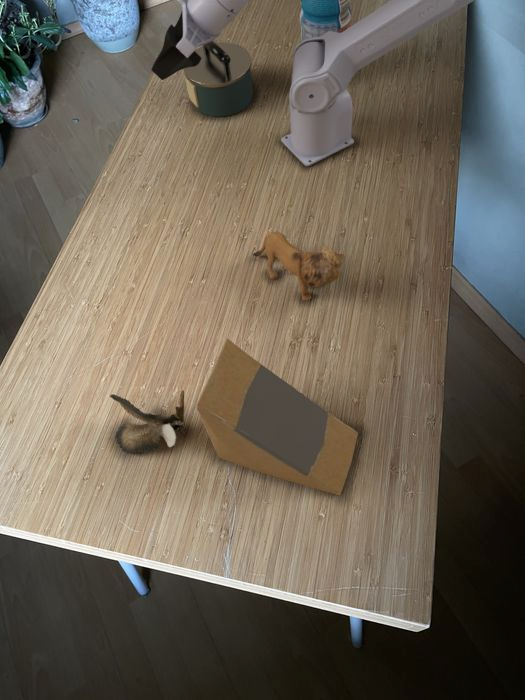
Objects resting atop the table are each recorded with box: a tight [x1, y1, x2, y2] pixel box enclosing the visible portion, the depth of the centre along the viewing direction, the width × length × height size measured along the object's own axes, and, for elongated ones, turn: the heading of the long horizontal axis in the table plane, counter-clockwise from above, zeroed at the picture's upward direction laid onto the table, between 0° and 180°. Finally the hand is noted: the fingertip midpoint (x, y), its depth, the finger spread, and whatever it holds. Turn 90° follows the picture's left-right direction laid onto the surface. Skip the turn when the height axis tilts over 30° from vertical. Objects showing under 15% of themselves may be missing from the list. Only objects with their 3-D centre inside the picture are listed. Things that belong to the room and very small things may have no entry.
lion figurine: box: [251, 231, 345, 302], centre depth 80 cm, size 15×5×9 cm, turn 54°
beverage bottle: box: [299, 0, 352, 42], centre depth 98 cm, size 8×8×20 cm
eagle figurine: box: [109, 389, 186, 455], centre depth 71 cm, size 8×7×9 cm
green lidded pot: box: [183, 40, 254, 118], centre depth 101 cm, size 12×12×10 cm
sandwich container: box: [195, 337, 359, 496], centre depth 65 cm, size 9×15×15 cm, turn 71°
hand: (164, 60), depth 86 cm, fingers open, 7 cm apart
